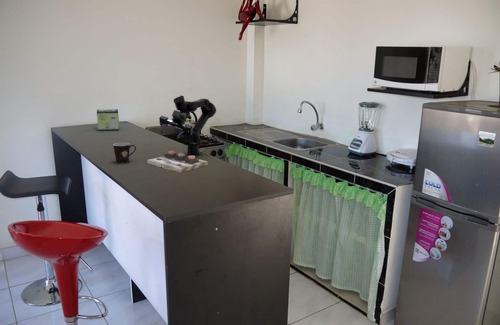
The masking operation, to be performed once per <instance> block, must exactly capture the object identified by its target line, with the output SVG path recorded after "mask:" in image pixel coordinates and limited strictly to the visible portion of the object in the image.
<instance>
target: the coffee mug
mask: <svg viewBox="0 0 500 325" xmlns="http://www.w3.org/2000/svg"><path fill="white" fill-rule="evenodd" d="M112 146H113V151H114V157H115V158H114V159H115V162H117V163H116V164H119V163H124V164H128V163H129V160H130V156H131V155H133V154H134V153H135V151H136V150H137V147H136V145H134V144H130V143H129V142H115V143H113V144H112ZM132 147H134V150H133V151H132V152H131V153H130V149H131V148H132ZM127 162H128V163H127Z"/></svg>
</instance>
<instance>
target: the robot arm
mask: <svg viewBox="0 0 500 325" xmlns="http://www.w3.org/2000/svg"><path fill="white" fill-rule="evenodd" d="M173 103H174V106H175V108H176V109H175V110H173V111H172V113H171V116H172V118H171V120H170V119H169V116H168V117H167V116H165V115H160V116H159V118H158V119H159V126H160V127H161V129H160V134H163V133H164V132H165V130H167V127H168V125H169V126H171V127H173V128H176V129H178V130H181V131H179V134H178V135H177V136H176V140H180V139H182V138H183V139H184V144H185V145H187V152H186V153H185V155H187V156H190V155H194V156H195V157H196V156H198V155H201V154H202V153H201V152H200V146H201V145H202V144H203V143H202V142H203V141H202V139H201V135H200V133H201V131H202V130H203V129H204V126H205V125H206V123H207V122H208V121H209V119H210V118H212V117H214V115H215V114H216V112H217V108H216V106H215V105H214V103H212V102H211V101H210V99H209V98H200V99H197V100H193V101H188V100H187V101H186V99H185V97H184V95H179V96H177V97H175V98H173ZM198 108H200V111H201V115H200V116H199V118H198V119H197V120H196V122H195V124H194V126H192V125H190V124H187V123H186V121H187V120H188V119H191V117H192V116H191V113H195V112H196V111H197V110H198Z"/></svg>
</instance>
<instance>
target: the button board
mask: <svg viewBox="0 0 500 325" xmlns="http://www.w3.org/2000/svg"><path fill="white" fill-rule="evenodd" d="M188 156H189V155H185V157H183V158H179V157H178V153H176V152H175V155H168V153H165V154H164V155H163V156H159V157H154V158H150V159H147V160H146V164H147V163H148V165H151V164H152V166H154V165H155V167H158V168H161V167H162V169H165V170H168V171H173V172H176V173H179V174H180V173H184V172H188V171H191V170H195V169H199V168H201V167H202V168H203V167H205V166H208V164H209V163H208V161H207V160H203V159H199V158H197V157H195V160H192V161H191V160H188Z"/></svg>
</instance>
